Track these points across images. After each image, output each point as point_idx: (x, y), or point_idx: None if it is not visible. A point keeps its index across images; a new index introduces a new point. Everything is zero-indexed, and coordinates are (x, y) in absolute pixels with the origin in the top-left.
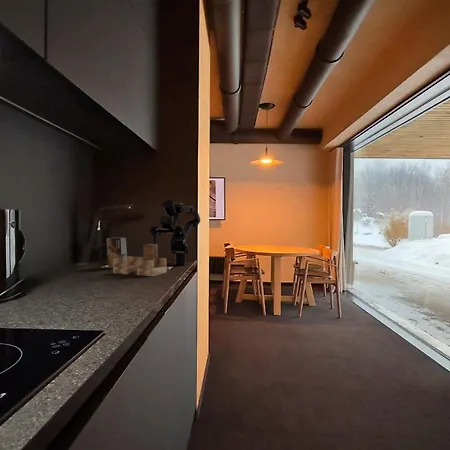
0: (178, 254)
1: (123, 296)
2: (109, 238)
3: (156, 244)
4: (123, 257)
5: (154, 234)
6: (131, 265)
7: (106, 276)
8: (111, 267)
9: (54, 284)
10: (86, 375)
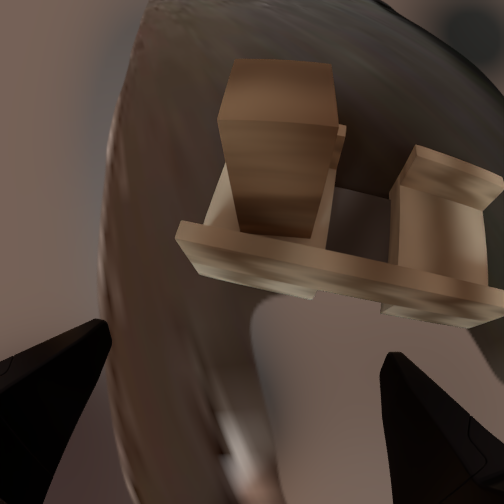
0: None
1: (210, 7)
2: None
3: (226, 110)
4: None
5: (500, 460)
6: (443, 269)
7: (429, 143)
8: None
9: (438, 59)
10: None
